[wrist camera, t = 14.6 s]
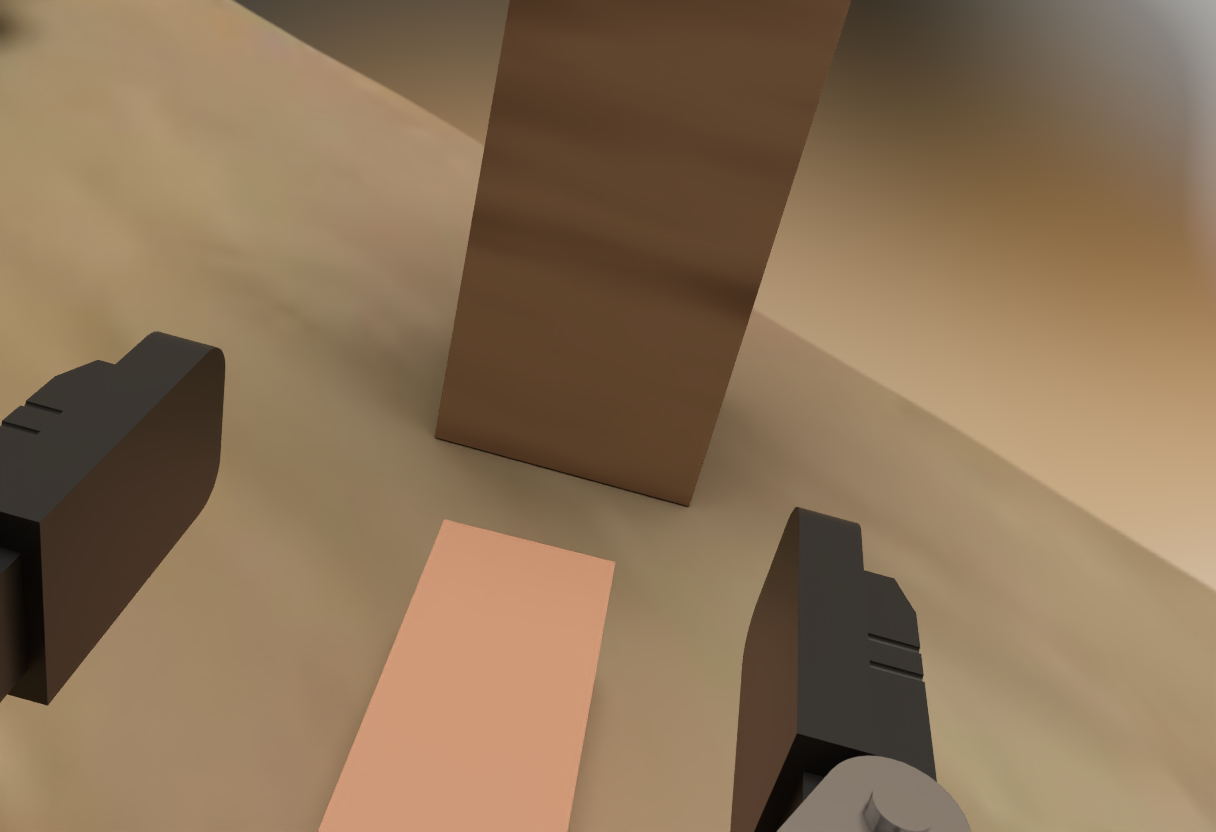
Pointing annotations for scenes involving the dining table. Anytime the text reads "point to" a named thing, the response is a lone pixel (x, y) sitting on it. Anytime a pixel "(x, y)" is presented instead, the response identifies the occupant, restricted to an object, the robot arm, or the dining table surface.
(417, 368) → the dining table surface
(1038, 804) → the dining table surface
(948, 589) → the dining table surface
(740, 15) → the walnut stand
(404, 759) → the terracotta bar
